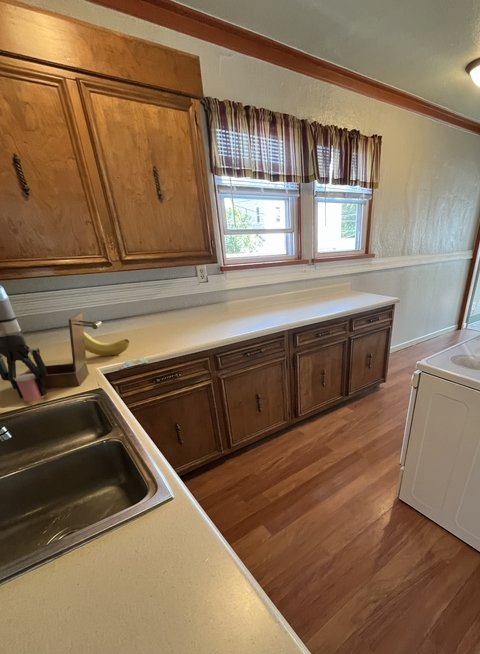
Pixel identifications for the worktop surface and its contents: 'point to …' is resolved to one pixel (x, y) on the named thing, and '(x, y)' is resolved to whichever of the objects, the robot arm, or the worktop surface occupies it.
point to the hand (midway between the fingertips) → (33, 395)
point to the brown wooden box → (63, 376)
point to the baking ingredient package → (133, 362)
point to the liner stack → (28, 387)
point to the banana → (105, 346)
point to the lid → (79, 339)
